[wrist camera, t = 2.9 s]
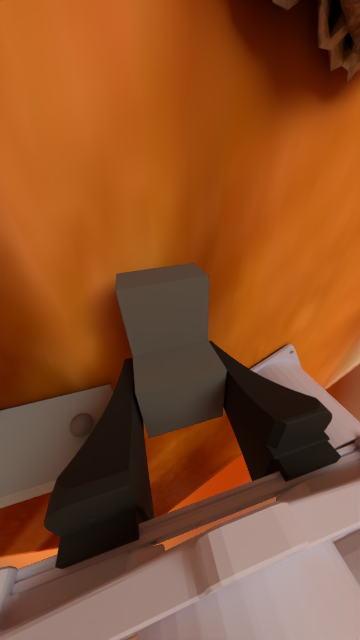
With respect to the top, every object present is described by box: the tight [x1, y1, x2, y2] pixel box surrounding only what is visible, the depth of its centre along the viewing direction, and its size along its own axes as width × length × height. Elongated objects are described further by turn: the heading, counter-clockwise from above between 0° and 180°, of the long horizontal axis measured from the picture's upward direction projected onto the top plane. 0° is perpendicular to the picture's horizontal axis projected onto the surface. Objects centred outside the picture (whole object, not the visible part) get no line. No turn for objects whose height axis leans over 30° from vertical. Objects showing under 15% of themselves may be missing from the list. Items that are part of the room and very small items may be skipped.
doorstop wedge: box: [115, 263, 227, 438], centre depth 11 cm, size 8×4×5 cm, turn 4°
